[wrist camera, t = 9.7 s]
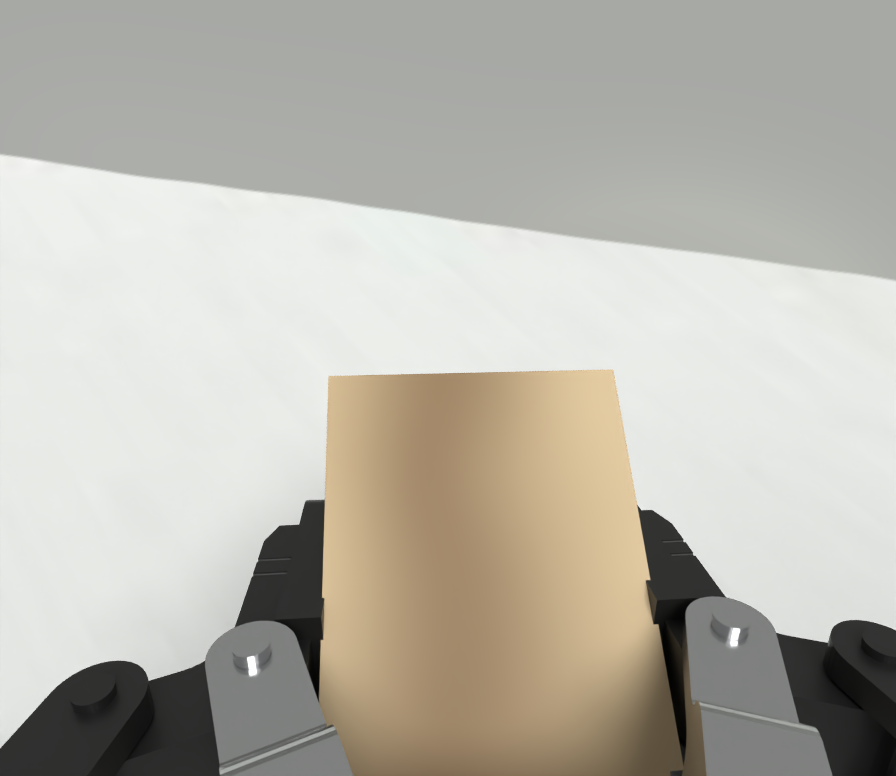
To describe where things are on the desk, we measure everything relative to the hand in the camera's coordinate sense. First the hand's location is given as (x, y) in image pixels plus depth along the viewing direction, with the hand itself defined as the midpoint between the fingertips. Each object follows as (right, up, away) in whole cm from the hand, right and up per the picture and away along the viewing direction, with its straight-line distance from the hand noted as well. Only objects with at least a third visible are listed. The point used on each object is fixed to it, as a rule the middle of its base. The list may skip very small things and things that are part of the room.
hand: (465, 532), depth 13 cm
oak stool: (0, -4, +5) cm, 7 cm away
